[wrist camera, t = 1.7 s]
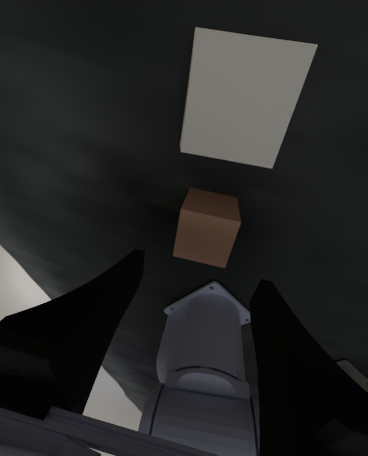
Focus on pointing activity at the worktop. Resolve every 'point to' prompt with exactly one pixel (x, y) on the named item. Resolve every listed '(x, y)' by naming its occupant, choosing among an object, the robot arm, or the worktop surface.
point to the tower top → (242, 95)
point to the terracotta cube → (207, 227)
